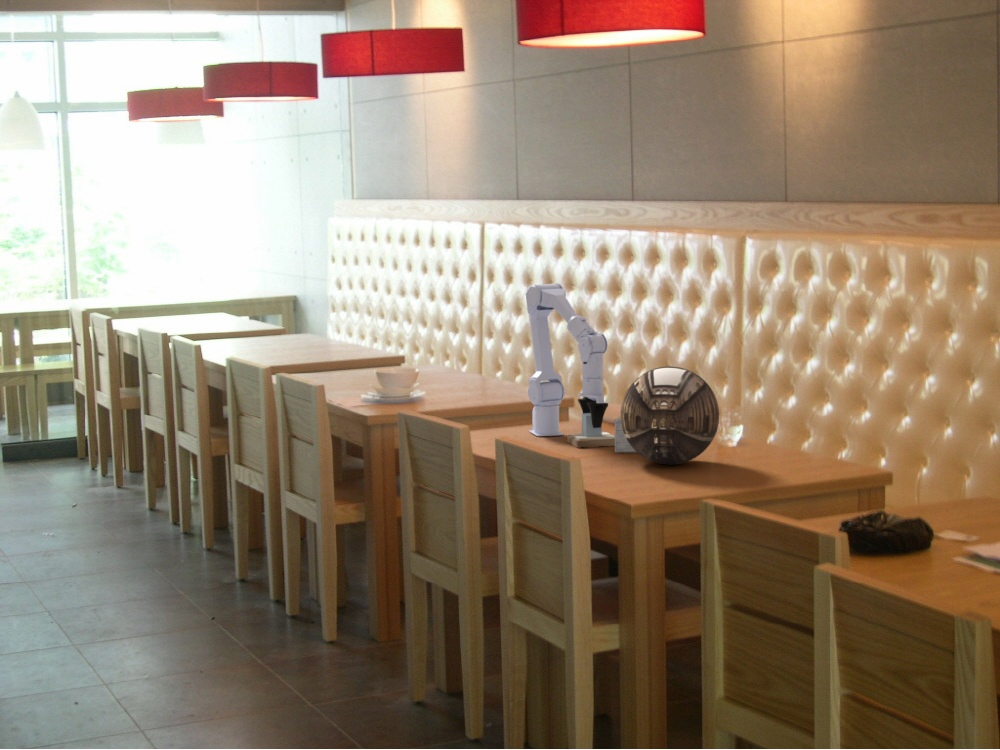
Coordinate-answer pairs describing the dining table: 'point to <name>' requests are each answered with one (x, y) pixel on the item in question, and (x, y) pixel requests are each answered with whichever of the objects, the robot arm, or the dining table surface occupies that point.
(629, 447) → the medicine box
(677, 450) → the sphere
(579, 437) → the brown picture frame
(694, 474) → the dining table surface
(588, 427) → the block
